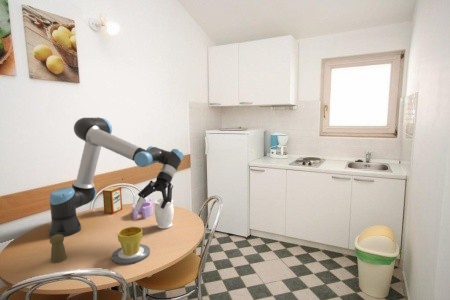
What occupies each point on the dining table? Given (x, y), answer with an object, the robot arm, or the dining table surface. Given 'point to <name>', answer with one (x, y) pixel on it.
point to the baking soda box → (112, 200)
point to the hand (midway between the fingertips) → (146, 211)
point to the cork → (57, 249)
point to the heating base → (130, 256)
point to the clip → (143, 209)
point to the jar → (164, 214)
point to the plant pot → (130, 239)
